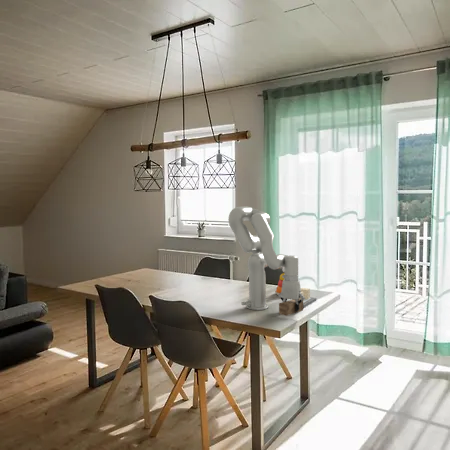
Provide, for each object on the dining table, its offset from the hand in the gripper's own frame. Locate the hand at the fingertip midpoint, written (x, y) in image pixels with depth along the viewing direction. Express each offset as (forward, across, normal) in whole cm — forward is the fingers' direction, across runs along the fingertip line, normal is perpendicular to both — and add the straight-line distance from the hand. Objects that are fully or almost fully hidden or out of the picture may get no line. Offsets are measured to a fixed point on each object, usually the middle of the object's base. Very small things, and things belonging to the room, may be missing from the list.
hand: (291, 309), depth 239 cm
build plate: (+1, -3, +22) cm, 22 cm away
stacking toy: (+1, -19, +36) cm, 41 cm away
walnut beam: (+1, 0, 0) cm, 1 cm away
